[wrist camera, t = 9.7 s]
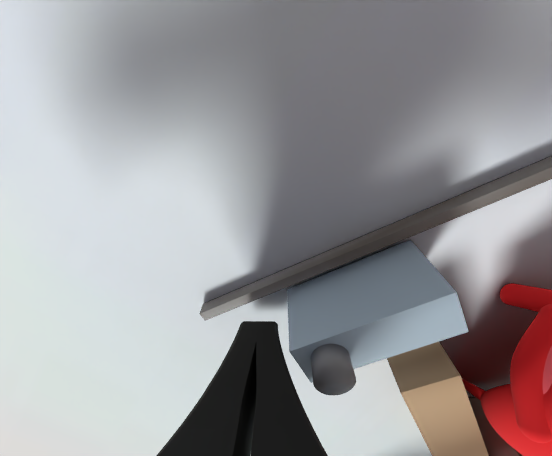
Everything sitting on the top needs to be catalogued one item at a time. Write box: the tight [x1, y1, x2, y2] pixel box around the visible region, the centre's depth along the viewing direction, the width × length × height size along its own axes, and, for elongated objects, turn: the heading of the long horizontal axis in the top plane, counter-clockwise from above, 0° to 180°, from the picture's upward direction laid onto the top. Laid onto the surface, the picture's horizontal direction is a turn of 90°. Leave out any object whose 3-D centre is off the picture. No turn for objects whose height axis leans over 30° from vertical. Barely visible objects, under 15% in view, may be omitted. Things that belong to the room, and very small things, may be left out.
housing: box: [200, 156, 552, 456], centre depth 11 cm, size 14×20×4 cm
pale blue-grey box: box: [287, 240, 469, 395], centre depth 9 cm, size 2×5×4 cm, turn 117°
